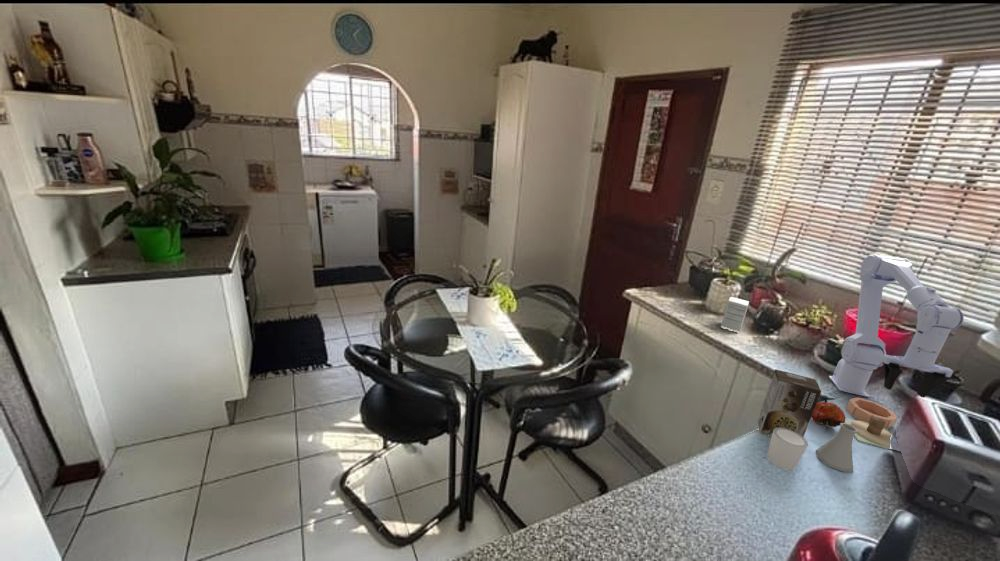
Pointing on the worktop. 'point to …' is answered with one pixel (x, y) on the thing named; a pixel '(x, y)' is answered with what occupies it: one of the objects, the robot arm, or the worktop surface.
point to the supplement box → (735, 313)
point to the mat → (861, 439)
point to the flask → (839, 449)
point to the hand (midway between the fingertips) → (903, 391)
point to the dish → (870, 411)
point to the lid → (873, 431)
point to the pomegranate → (828, 414)
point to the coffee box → (788, 403)
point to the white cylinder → (786, 448)
